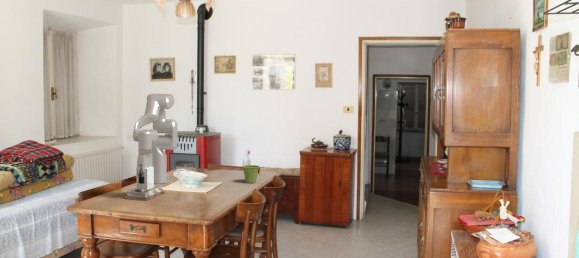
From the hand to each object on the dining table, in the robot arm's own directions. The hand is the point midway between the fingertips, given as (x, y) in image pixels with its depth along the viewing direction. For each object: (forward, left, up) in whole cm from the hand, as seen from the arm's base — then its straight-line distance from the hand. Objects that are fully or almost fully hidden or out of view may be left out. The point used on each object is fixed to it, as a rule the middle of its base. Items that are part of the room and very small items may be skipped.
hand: (145, 182), depth 273 cm
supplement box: (0, 0, -4) cm, 4 cm away
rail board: (0, 0, -8) cm, 8 cm away
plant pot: (-60, +44, -9) cm, 75 cm away
